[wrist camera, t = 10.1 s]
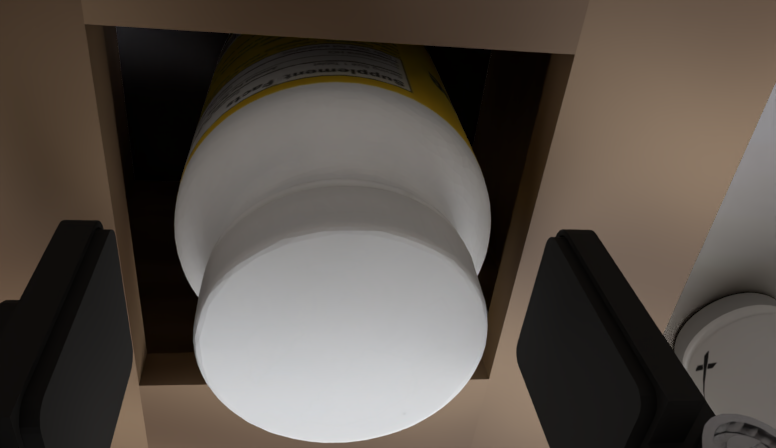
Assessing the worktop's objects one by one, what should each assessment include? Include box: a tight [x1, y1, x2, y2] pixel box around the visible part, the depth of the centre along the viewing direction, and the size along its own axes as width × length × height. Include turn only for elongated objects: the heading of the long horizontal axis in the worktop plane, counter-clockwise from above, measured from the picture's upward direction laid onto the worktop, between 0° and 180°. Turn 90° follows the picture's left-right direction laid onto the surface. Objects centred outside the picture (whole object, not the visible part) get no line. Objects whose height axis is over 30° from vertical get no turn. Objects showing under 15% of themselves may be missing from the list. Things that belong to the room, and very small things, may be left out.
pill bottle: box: [174, 33, 491, 443], centre depth 15 cm, size 6×6×11 cm
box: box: [0, 0, 776, 448], centre depth 19 cm, size 16×16×14 cm
